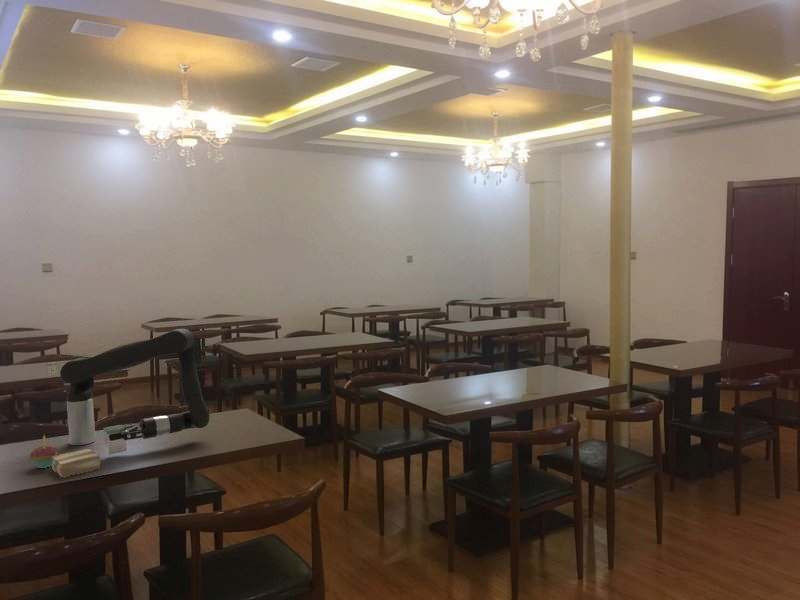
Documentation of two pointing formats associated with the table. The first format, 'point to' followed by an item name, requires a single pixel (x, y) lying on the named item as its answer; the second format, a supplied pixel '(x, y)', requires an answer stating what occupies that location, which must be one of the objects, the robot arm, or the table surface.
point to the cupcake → (43, 455)
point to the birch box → (75, 462)
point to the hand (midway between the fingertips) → (107, 435)
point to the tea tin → (114, 445)
